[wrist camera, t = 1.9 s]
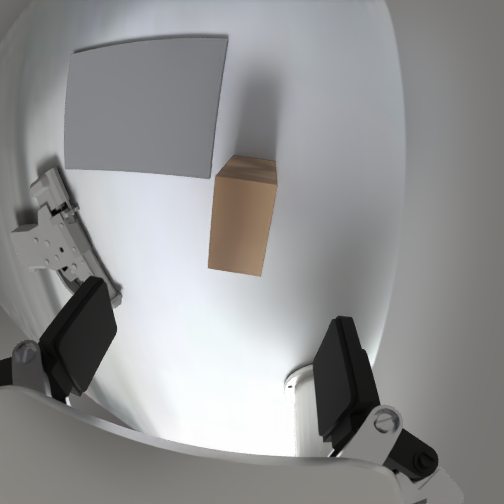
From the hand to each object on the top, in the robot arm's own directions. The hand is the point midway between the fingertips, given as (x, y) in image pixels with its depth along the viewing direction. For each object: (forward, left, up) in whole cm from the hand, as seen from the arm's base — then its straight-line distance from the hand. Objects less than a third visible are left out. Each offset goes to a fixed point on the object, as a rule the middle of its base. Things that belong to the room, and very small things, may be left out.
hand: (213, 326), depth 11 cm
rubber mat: (+13, -8, -18) cm, 24 cm away
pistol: (+26, +11, -19) cm, 34 cm away
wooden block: (0, 0, -18) cm, 18 cm away
